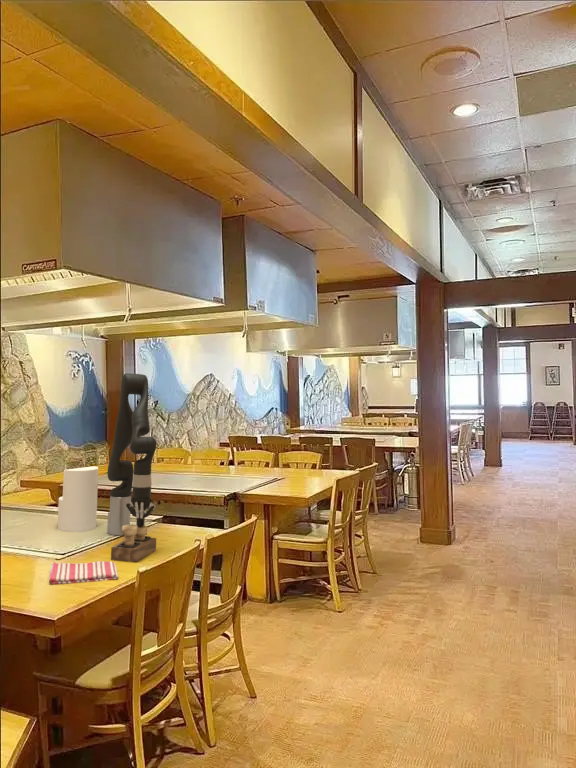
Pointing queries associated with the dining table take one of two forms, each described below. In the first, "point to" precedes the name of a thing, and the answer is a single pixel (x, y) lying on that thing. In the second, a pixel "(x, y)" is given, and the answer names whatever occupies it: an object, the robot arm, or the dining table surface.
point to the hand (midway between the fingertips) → (140, 526)
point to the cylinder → (78, 500)
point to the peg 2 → (141, 533)
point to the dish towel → (82, 572)
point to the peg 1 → (129, 534)
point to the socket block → (133, 550)
